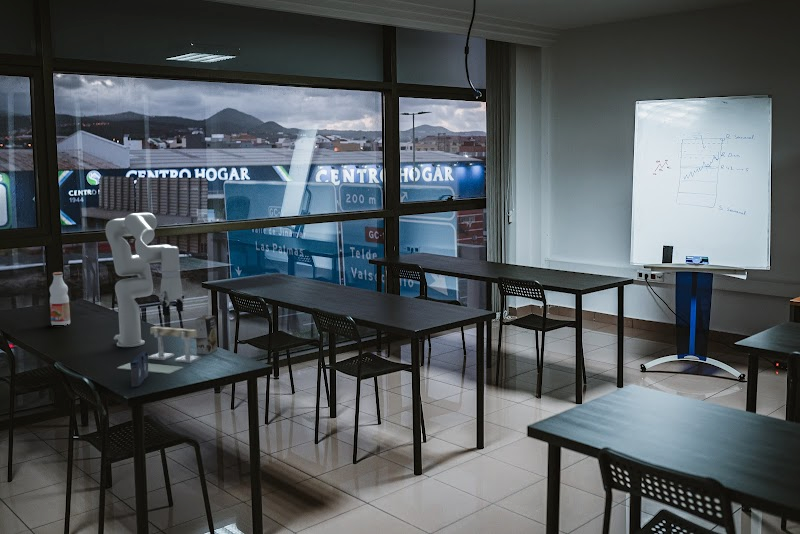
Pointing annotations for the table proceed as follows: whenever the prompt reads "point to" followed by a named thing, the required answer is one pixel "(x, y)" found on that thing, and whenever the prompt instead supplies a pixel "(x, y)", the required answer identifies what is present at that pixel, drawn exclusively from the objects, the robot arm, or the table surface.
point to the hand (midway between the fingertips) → (173, 313)
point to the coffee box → (206, 334)
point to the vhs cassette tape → (139, 369)
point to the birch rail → (174, 331)
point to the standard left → (160, 348)
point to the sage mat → (155, 368)
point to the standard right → (187, 351)
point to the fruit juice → (59, 301)
